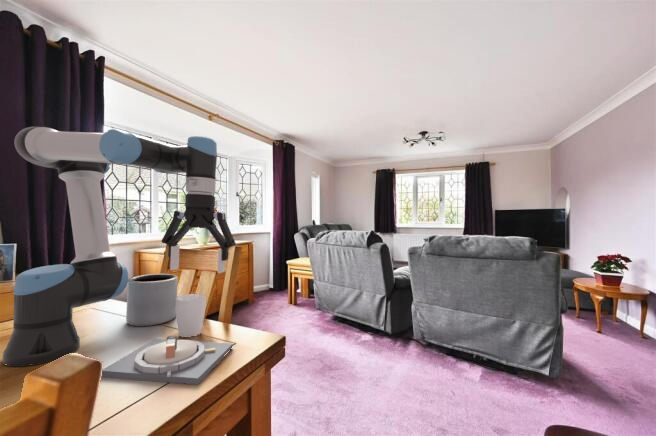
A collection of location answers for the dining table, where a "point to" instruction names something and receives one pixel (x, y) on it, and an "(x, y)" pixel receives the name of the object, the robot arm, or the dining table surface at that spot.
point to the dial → (170, 351)
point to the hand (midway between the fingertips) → (197, 271)
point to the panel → (176, 372)
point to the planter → (151, 299)
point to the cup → (190, 314)
